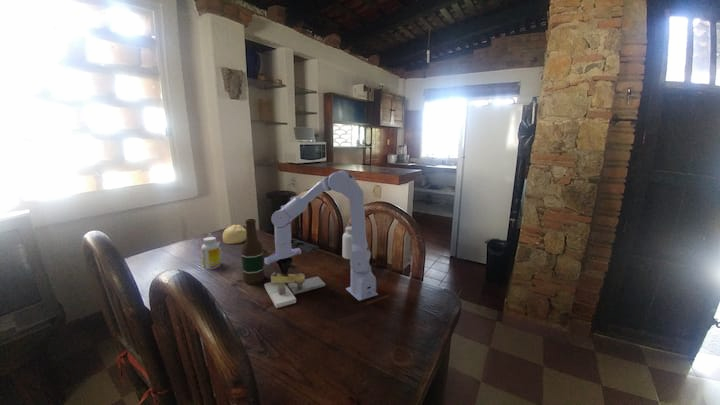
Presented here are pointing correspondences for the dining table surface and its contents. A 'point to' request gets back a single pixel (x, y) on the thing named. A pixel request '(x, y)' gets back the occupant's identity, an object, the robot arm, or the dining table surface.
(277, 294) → the door board
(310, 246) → the dark slate chunk
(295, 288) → the plate
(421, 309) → the dining table surface
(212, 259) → the supplement bottle
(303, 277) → the latch arm
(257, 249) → the beer bottle
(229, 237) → the steamed bun
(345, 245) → the pill bottle
